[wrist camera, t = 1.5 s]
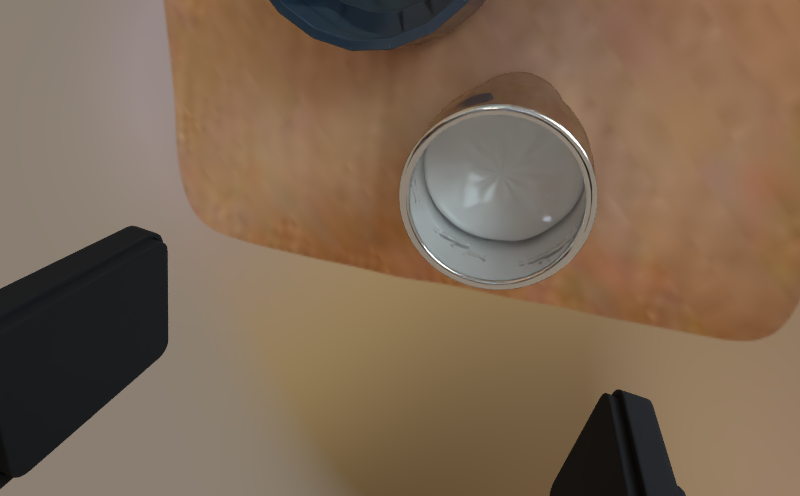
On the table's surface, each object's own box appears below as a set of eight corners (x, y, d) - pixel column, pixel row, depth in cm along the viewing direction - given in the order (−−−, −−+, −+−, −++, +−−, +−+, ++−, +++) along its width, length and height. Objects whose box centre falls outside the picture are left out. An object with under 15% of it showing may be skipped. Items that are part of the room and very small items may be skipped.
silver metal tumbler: (557, 189, 30) (571, 315, 17) (448, 169, 32) (383, 272, 18) (589, 72, 27) (636, 117, 14) (467, 55, 28) (405, 80, 15)
